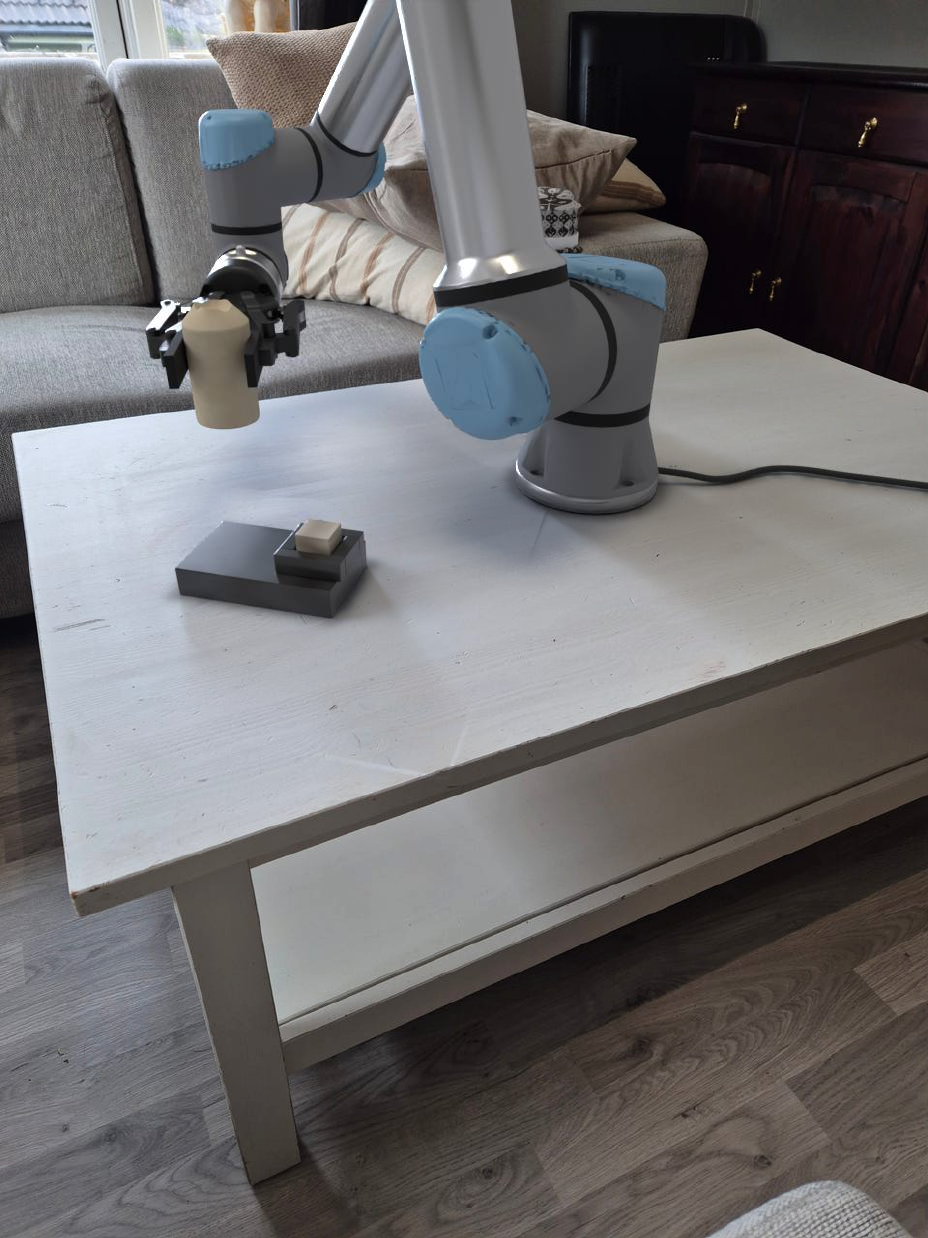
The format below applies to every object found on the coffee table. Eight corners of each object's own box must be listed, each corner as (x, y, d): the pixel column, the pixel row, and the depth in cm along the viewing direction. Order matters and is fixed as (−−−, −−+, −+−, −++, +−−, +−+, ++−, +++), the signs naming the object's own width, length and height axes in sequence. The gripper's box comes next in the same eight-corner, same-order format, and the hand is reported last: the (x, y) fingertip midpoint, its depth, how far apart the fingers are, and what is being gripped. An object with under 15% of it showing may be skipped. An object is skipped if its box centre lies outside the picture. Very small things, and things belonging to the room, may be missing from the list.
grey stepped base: (371, 566, 81) (369, 522, 79) (336, 619, 74) (333, 573, 72) (226, 545, 84) (220, 502, 82) (179, 594, 77) (170, 549, 74)
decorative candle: (533, 413, 113) (547, 199, 99) (487, 392, 119) (493, 187, 105) (584, 398, 118) (604, 191, 104) (537, 378, 124) (549, 181, 110)
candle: (245, 433, 76) (229, 314, 71) (185, 427, 77) (165, 309, 71) (270, 410, 81) (257, 296, 75) (213, 404, 82) (196, 292, 76)
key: (342, 540, 77) (341, 522, 76) (330, 557, 74) (328, 539, 73) (310, 536, 77) (308, 518, 76) (296, 552, 75) (294, 534, 74)
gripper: (141, 257, 87) (80, 325, 68) (331, 256, 89) (324, 322, 70) (155, 334, 92) (101, 418, 72) (336, 332, 93) (330, 414, 74)
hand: (211, 371), depth 71 cm, fingers closed on candle, 5 cm apart
